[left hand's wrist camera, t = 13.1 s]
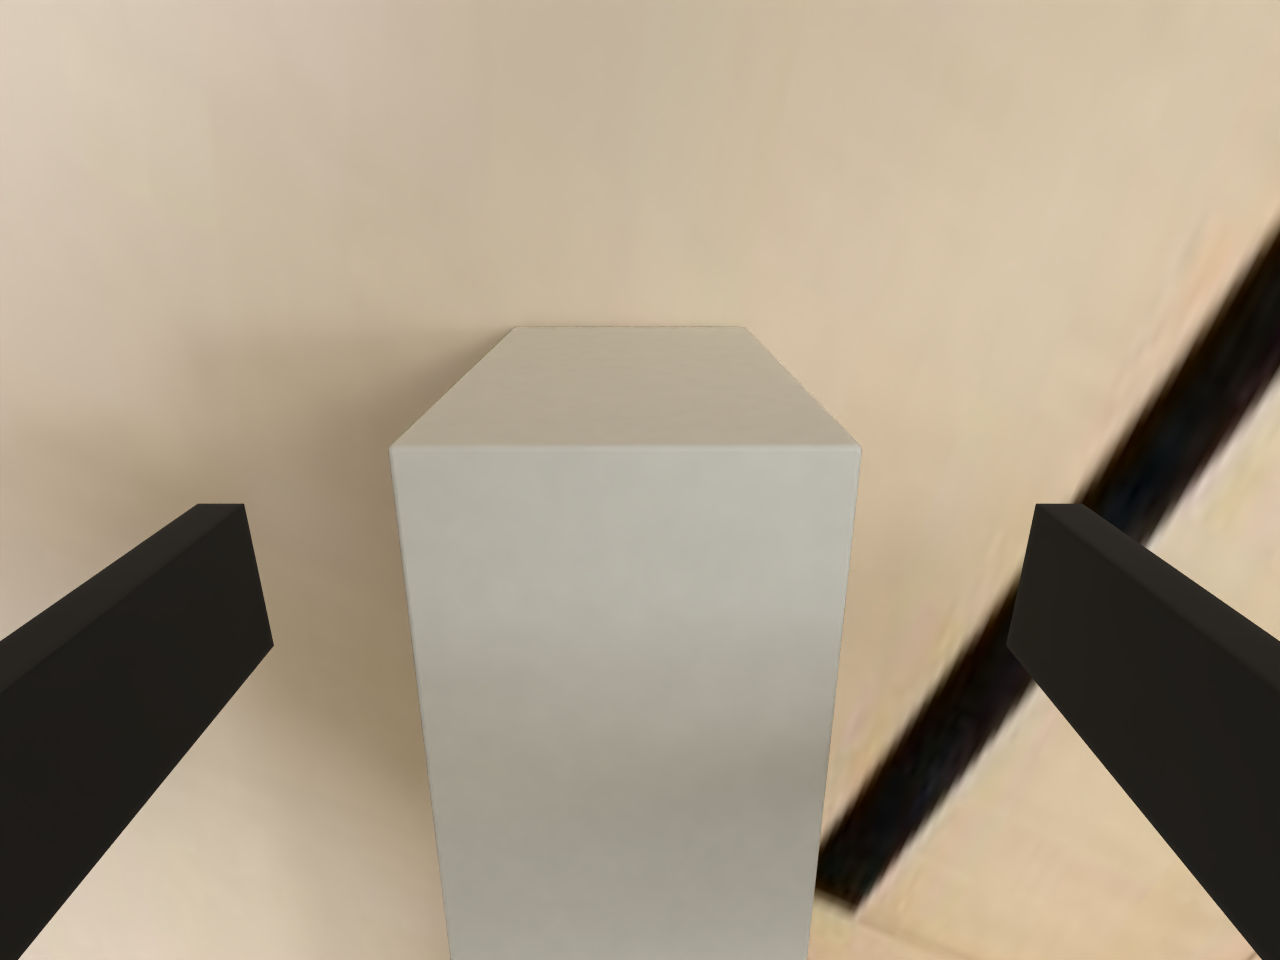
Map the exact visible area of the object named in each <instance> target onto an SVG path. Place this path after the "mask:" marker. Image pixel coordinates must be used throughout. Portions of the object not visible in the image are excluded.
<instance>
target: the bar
mask: <svg viewBox="0 0 1280 960" xmlns="http://www.w3.org/2000/svg"><path fill="white" fill-rule="evenodd" d="M388 452H389V460H390V468H391V476H392V484H393V492H394V501H395V509H396V517H397V525H398V533H399V541H400V550H401V558H402V566H403V574H404V582H405V590H406V599H407V607H408V615H409V623H410V631H411V640H412V648H413V656H414V664H415V672H416V680H417V689H418V697H419V705H420V713H421V721H422V729H423V738H424V746H425V754H426V762H427V770H428V779H429V787H430V795H431V803H432V811H433V819H434V828H435V836H436V844H437V852H438V860H439V868H440V877H441V885H442V893H443V901H444V909H445V918H446V926H447V934H448V942H449V950H450V958H451V960H807V954H808V945H809V936H810V926H811V917H812V908H813V898H814V889H815V880H816V871H817V861H818V852H819V843H820V833H821V824H822V815H823V806H824V796H825V787H826V778H827V768H828V759H829V750H830V741H831V731H832V722H833V713H834V703H835V694H836V685H837V676H838V666H839V657H840V648H841V638H842V629H843V620H844V611H845V601H846V592H847V583H848V573H849V564H850V555H851V546H852V536H853V527H854V518H855V508H856V499H857V490H858V481H859V471H860V462H861V453H862V449H861V446H860V444H859V443H858V442H857V441H856V440H855V439H854V438H853V437H852V436H851V435H850V434H849V433H848V432H847V431H846V430H845V429H844V428H843V427H842V426H841V425H840V424H839V423H838V422H837V421H836V420H835V419H834V418H833V417H832V416H831V415H830V413H829V412H828V411H827V410H826V409H825V408H824V407H823V406H822V405H821V404H820V403H819V402H818V401H817V400H816V399H815V398H814V397H813V396H812V395H811V394H810V393H809V392H808V391H807V390H806V389H805V388H804V387H803V386H802V385H801V384H800V383H799V382H798V381H797V379H796V378H795V377H794V376H793V375H792V374H791V373H790V372H789V371H788V370H787V369H786V368H785V367H784V366H783V365H782V364H781V363H780V362H779V361H778V360H777V359H776V358H775V357H774V356H773V355H772V354H771V353H770V352H769V351H768V350H767V349H766V348H765V347H764V345H763V344H762V343H761V342H760V341H759V340H758V339H757V338H756V337H755V336H754V335H753V334H752V333H751V332H750V331H749V330H748V329H747V328H746V327H515V328H513V329H512V330H511V331H510V332H509V333H508V334H507V335H506V336H505V337H504V338H503V339H502V340H501V341H500V342H499V343H498V344H497V345H495V346H494V347H493V348H492V349H491V350H490V351H489V352H488V353H487V354H486V355H485V356H484V357H483V358H482V359H481V360H480V361H479V362H478V363H477V364H476V365H475V366H473V367H472V368H471V369H470V370H469V371H468V372H467V373H466V374H465V375H464V376H463V377H462V378H461V379H460V380H459V381H458V382H457V383H456V384H455V385H454V386H452V387H451V388H450V389H449V390H448V391H447V392H446V393H445V394H444V395H443V396H442V397H441V398H440V399H439V400H438V401H437V402H436V403H435V404H434V405H433V406H431V407H430V408H429V409H428V410H427V411H426V412H425V413H424V414H423V415H422V416H421V417H420V418H419V419H418V420H417V421H416V422H415V423H414V424H413V425H412V426H411V427H409V428H408V429H407V430H406V431H405V432H404V433H403V434H402V435H401V436H400V437H399V438H398V439H397V440H396V441H395V442H394V443H393V444H392V445H391V446H390V448H389V451H388Z"/></svg>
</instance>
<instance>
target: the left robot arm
mask: <svg viewBox="0 0 1280 960" xmlns="http://www.w3.org/2000/svg"><path fill="white" fill-rule="evenodd" d="M273 646H274V644H273V639H272V635H271V630H270V625H269V620H268V616H267V611H266V606H265V601H264V597H263V592H262V587H261V582H260V577H259V573H258V568H257V563H256V558H255V554H254V549H253V544H252V539H251V535H250V530H249V525H248V520H247V516H246V511H245V506H244V504H197V505H195V506H194V507H192V508H191V509H190V510H188V511H187V512H185V513H184V514H182V515H181V516H180V517H178V518H177V519H175V520H174V521H172V522H171V523H169V524H168V525H167V526H165V527H164V528H162V529H161V530H159V531H158V532H157V533H155V534H154V535H152V536H151V537H149V538H148V539H147V540H145V541H144V542H142V543H141V544H139V545H138V546H136V547H135V548H134V549H132V550H131V551H129V552H128V553H126V554H125V555H124V556H122V557H121V558H119V559H118V560H116V561H115V562H113V563H112V564H111V565H109V566H108V567H106V568H105V569H103V570H102V571H101V572H99V573H98V574H96V575H95V576H93V577H92V578H90V579H89V580H88V581H86V582H85V583H83V584H82V585H80V586H79V587H78V588H76V589H75V590H73V591H72V592H70V593H69V594H67V595H66V596H65V597H63V598H62V599H60V600H59V601H57V602H56V603H55V604H53V605H52V606H50V607H49V608H47V609H46V610H45V611H43V612H42V613H40V614H39V615H37V616H36V617H34V618H33V619H32V620H30V621H29V622H27V623H26V624H24V625H23V626H22V627H20V628H19V629H17V630H16V631H14V632H13V633H11V634H10V635H9V636H7V637H6V638H4V639H3V640H1V641H0V960H18V959H19V958H20V957H21V955H22V954H23V953H24V952H25V950H26V949H27V948H28V947H29V946H30V944H31V943H32V942H33V941H34V939H35V938H36V937H37V936H38V934H39V933H40V932H41V931H42V930H43V928H44V927H45V926H46V925H47V923H48V922H49V921H50V920H51V918H52V917H53V916H54V915H55V914H56V912H57V911H58V910H59V909H60V907H61V906H62V905H63V904H64V903H65V901H66V900H67V899H68V898H69V896H70V895H71V894H72V893H73V891H74V890H75V889H76V888H77V887H78V885H79V884H80V883H81V882H82V880H83V879H84V878H85V877H86V876H87V874H88V873H89V872H90V871H91V869H92V868H93V867H94V866H95V864H96V863H97V862H98V861H99V860H100V858H101V857H102V856H103V855H104V853H105V852H106V851H107V850H108V849H109V847H110V846H111V845H112V844H113V842H114V841H115V840H116V839H117V837H118V836H119V835H120V834H121V833H122V831H123V830H124V829H125V828H126V826H127V825H128V824H129V823H130V822H131V820H132V819H133V818H134V817H135V815H136V814H137V813H138V812H139V810H140V809H141V808H142V807H143V806H144V804H145V803H146V802H147V801H148V799H149V798H150V797H151V796H152V794H153V793H154V792H155V791H156V790H157V788H158V787H159V786H160V785H161V783H162V782H163V781H164V780H165V779H166V777H167V776H168V775H169V774H170V772H171V771H172V770H173V769H174V767H175V766H176V765H177V764H178V763H179V761H180V760H181V759H182V758H183V756H184V755H185V754H186V753H187V752H188V750H189V749H190V748H191V747H192V745H193V744H194V743H195V742H196V740H197V739H198V738H199V737H200V736H201V734H202V733H203V732H204V731H205V729H206V728H207V727H208V726H209V725H210V723H211V722H212V721H213V720H214V718H215V717H216V716H217V715H218V713H219V712H220V711H221V710H222V709H223V707H224V706H225V705H226V704H227V702H228V701H229V700H230V699H231V698H232V696H233V695H234V694H235V693H236V691H237V690H238V689H239V688H240V686H241V685H242V684H243V683H244V682H245V680H246V679H247V678H248V677H249V675H250V674H251V673H252V672H253V670H254V669H255V668H256V667H257V666H258V664H259V663H260V662H261V661H262V659H263V658H264V657H265V656H266V655H267V653H268V652H269V651H270V650H271V648H272V647H273ZM1006 646H1007V647H1008V648H1009V650H1010V651H1011V652H1012V653H1013V655H1014V656H1015V657H1016V658H1017V659H1018V661H1019V662H1020V663H1021V664H1022V666H1023V667H1024V668H1025V669H1026V671H1027V672H1028V673H1029V674H1030V675H1031V677H1032V678H1033V679H1034V680H1035V682H1036V683H1037V684H1038V685H1039V686H1040V688H1041V689H1042V690H1043V691H1044V693H1045V694H1046V695H1047V696H1048V698H1049V699H1050V700H1051V701H1052V702H1053V704H1054V705H1055V706H1056V707H1057V709H1058V710H1059V711H1060V712H1061V713H1062V715H1063V716H1064V717H1065V718H1066V720H1067V721H1068V722H1069V723H1070V725H1071V726H1072V727H1073V728H1074V729H1075V731H1076V732H1077V733H1078V734H1079V736H1080V737H1081V738H1082V739H1083V740H1084V742H1085V743H1086V744H1087V745H1088V747H1089V748H1090V749H1091V750H1092V752H1093V753H1094V754H1095V755H1096V756H1097V758H1098V759H1099V760H1100V761H1101V763H1102V764H1103V765H1104V766H1105V767H1106V769H1107V770H1108V771H1109V772H1110V774H1111V775H1112V776H1113V777H1114V779H1115V780H1116V781H1117V782H1118V783H1119V785H1120V786H1121V787H1122V788H1123V790H1124V791H1125V792H1126V793H1127V794H1128V796H1129V797H1130V798H1131V799H1132V801H1133V802H1134V803H1135V804H1136V806H1137V807H1138V808H1139V809H1140V810H1141V812H1142V813H1143V814H1144V815H1145V817H1146V818H1147V819H1148V820H1149V822H1150V823H1151V824H1152V825H1153V826H1154V828H1155V829H1156V830H1157V831H1158V833H1159V834H1160V835H1161V836H1162V837H1163V839H1164V840H1165V841H1166V842H1167V844H1168V845H1169V846H1170V847H1171V849H1172V850H1173V851H1174V852H1175V853H1176V855H1177V856H1178V857H1179V858H1180V860H1181V861H1182V862H1183V863H1184V864H1185V866H1186V867H1187V868H1188V869H1189V871H1190V872H1191V873H1192V874H1193V876H1194V877H1195V878H1196V879H1197V880H1198V882H1199V883H1200V884H1201V885H1202V887H1203V888H1204V889H1205V890H1206V891H1207V893H1208V894H1209V895H1210V896H1211V898H1212V899H1213V900H1214V901H1215V903H1216V904H1217V905H1218V906H1219V907H1220V909H1221V910H1222V911H1223V912H1224V914H1225V915H1226V916H1227V917H1228V918H1229V920H1230V921H1231V922H1232V923H1233V925H1234V926H1235V927H1236V928H1237V930H1238V931H1239V932H1240V933H1241V934H1242V936H1243V937H1244V938H1245V939H1246V941H1247V942H1248V943H1249V944H1250V946H1251V947H1252V948H1253V949H1254V950H1255V952H1256V953H1257V954H1258V955H1259V957H1260V958H1261V959H1262V960H1280V641H1279V640H1277V639H1276V638H1274V637H1273V636H1271V635H1270V634H1269V633H1267V632H1266V631H1264V630H1263V629H1261V628H1260V627H1258V626H1257V625H1256V624H1254V623H1253V622H1251V621H1250V620H1248V619H1247V618H1246V617H1244V616H1243V615H1241V614H1240V613H1238V612H1237V611H1235V610H1234V609H1233V608H1231V607H1230V606H1228V605H1227V604H1225V603H1224V602H1223V601H1221V600H1220V599H1218V598H1217V597H1215V596H1214V595H1213V594H1211V593H1210V592H1208V591H1207V590H1205V589H1204V588H1202V587H1201V586H1200V585H1198V584H1197V583H1195V582H1194V581H1192V580H1191V579H1190V578H1188V577H1187V576H1185V575H1184V574H1182V573H1181V572H1179V571H1178V570H1177V569H1175V568H1174V567H1172V566H1171V565H1169V564H1168V563H1167V562H1165V561H1164V560H1162V559H1161V558H1159V557H1158V556H1156V555H1155V554H1154V553H1152V552H1151V551H1149V550H1148V549H1146V548H1145V547H1144V546H1142V545H1141V544H1139V543H1138V542H1136V541H1135V540H1133V539H1132V538H1131V537H1129V536H1128V535H1126V534H1125V533H1123V532H1122V531H1121V530H1119V529H1118V528H1116V527H1115V526H1113V525H1112V524H1111V523H1109V522H1108V521H1106V520H1105V519H1103V518H1102V517H1100V516H1099V515H1098V514H1096V513H1095V512H1093V511H1092V510H1090V509H1089V508H1088V507H1086V506H1085V505H1083V504H1036V506H1035V511H1034V516H1033V520H1032V525H1031V530H1030V535H1029V539H1028V544H1027V549H1026V554H1025V558H1024V563H1023V568H1022V573H1021V577H1020V582H1019V587H1018V592H1017V597H1016V601H1015V606H1014V611H1013V616H1012V620H1011V625H1010V630H1009V635H1008V639H1007V644H1006Z"/></svg>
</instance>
